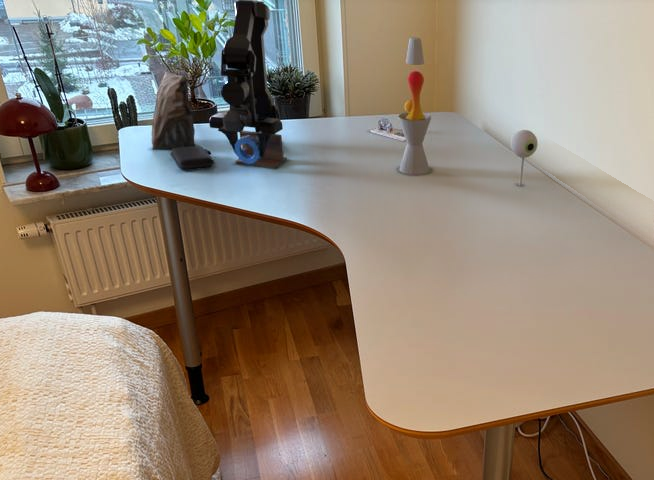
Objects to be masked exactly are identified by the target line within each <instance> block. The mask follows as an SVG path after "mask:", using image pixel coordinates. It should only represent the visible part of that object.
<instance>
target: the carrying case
mask: <svg viewBox="0 0 654 480" xmlns="http://www.w3.org/2000/svg"><path fill="white" fill-rule="evenodd" d="M169 155H170V157H171V158H172V160H173V162H174V164H175V165H176V166H177V168H179V170H181V171H183V172H185V171H186V172H187V171H196V170H202V169H204V170H205V169H211V168H212V166H213V165H215V161H214V159H213V157H212V152H211V150H208V149H206V148H203V146H200V145H196V146H193V147H182V148H174V149H173V150H170V153H169Z"/></svg>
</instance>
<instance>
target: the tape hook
mask: <svg viewBox="0 0 654 480" xmlns="http://www.w3.org/2000/svg"><path fill="white" fill-rule="evenodd" d="M257 133H259V132H255V131H250V130H243V131H241V132H239V139H240V138H242V137H244V136H248V135H250V136H252V137H255V138H256V139H258V140H259V138H258V136H257ZM283 147H284V146H283V137H282V134H279V133H278V134H277V133H275V134H271V136H270V138H269V141H268V144H267V147H266V150H265V153H264V156H263V157H261V159H259V160H258V161H256V162H255V163H253V164H251V163H250V164H247V163H244V162H242V160H240V159H239V158H237V159H236V160H235V164H236V165H240V166H250V167H258V168H259V167H260V168H266V169H273V170H274V169H277V168H278V167H280V166H281V165H283V164H284V163H286V162H287V161H288V157H287V156H284V148H283ZM241 149H242V150H244V151H245V152H246V153H247V154H248V155H250V156H253V155H254V150H253V147H251V145H249V144H242V145H241Z"/></svg>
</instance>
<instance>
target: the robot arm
mask: <svg viewBox="0 0 654 480" xmlns="http://www.w3.org/2000/svg"><path fill="white" fill-rule="evenodd" d="M234 13H235V14H234V15H235V16H234V22H233V23H234V24H233V27H232V28H233V29H232V35H231V37H229V38H228V39H226V40H225V43H224V45H223V49H221V53H220V55H221V57H220V62H221V63H220V77H226V79H227V80H226V82H225V83H224V84H223V85H222V87H221V91H220V93H221V97H222V100H223V101H224V102H225V103H226V104H228V105H229V109H228V111H227V112H217V113H215V114H213V115H211V116H210V118H209V120H208V124H209V128H210V129H217V131H218V132H220V133H222V134H224V136H225V137H226V139H227V140H228V142H229V144H230V146H231V148H232V150H233V152H234V153H235V155H236V152H235V144H236V143H237V140H239V133H240V132H241V131H244V129H245V128H254V130H255V131H254V132H259V133H257V136H258V138H259V147H260V155H261V157H263V156H264V153H265V150H266V147H267V144H268V141H269V138H270V136H271V134H277V133H279V132H281V131H282V130H283V122H282V120H281V115H280V112H279V110H278V108H277V105H275V99H274V98H275V97H273V95H272V94H271V92H270V91H269V88H268V77H267V76H268V75H267V65H266V52H265V51H266V50H265V39H264V36H265V33H266V32H267V29H268V27H269V20H270V17H271V16H270V15H271V11H270V7H269V5H267V4H266V3H265V1H262V0H261V1H260V0H236V1H235V2H234Z"/></svg>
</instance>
